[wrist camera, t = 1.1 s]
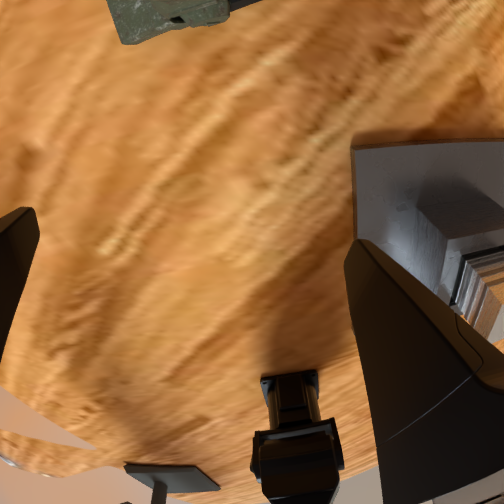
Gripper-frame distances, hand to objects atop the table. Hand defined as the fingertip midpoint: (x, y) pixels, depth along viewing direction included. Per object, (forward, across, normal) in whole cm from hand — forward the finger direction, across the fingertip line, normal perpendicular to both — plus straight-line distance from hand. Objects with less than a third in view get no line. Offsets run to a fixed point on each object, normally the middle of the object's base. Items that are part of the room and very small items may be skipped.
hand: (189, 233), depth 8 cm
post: (+11, -21, +6) cm, 25 cm away
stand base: (+12, -21, +7) cm, 25 cm away
